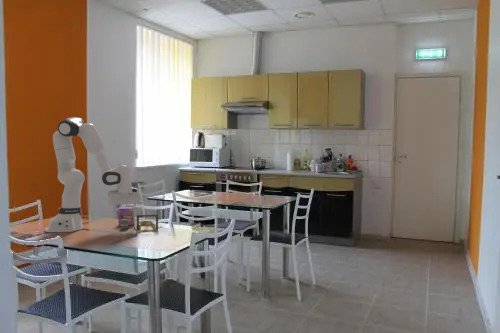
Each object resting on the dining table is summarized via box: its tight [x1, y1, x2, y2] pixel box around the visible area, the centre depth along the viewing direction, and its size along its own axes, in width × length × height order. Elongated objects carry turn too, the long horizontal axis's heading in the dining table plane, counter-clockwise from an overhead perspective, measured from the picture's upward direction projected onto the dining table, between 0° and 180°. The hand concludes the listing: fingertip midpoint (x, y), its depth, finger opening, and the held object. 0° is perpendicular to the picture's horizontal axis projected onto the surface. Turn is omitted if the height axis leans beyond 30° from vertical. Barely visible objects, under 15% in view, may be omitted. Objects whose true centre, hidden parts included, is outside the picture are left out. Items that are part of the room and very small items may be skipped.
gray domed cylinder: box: [120, 219, 129, 231], centre depth 283 cm, size 5×5×6 cm
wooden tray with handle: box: [133, 213, 159, 233], centre depth 283 cm, size 13×16×11 cm
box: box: [117, 206, 136, 226], centre depth 298 cm, size 10×6×12 cm, turn 97°
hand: (125, 210), depth 282 cm, fingers open, 8 cm apart
